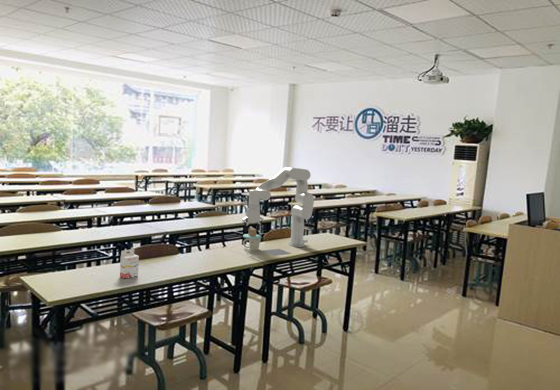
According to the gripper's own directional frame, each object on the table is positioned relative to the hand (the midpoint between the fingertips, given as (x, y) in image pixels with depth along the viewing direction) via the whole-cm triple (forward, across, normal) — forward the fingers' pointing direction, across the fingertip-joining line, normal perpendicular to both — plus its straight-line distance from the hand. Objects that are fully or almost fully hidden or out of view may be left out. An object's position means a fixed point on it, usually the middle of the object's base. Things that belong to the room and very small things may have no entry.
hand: (252, 230), depth 321 cm
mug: (+15, 0, 0) cm, 15 cm away
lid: (+5, 0, 0) cm, 5 cm away
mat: (+15, -13, +14) cm, 24 cm away
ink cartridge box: (+15, +95, +27) cm, 100 cm away
